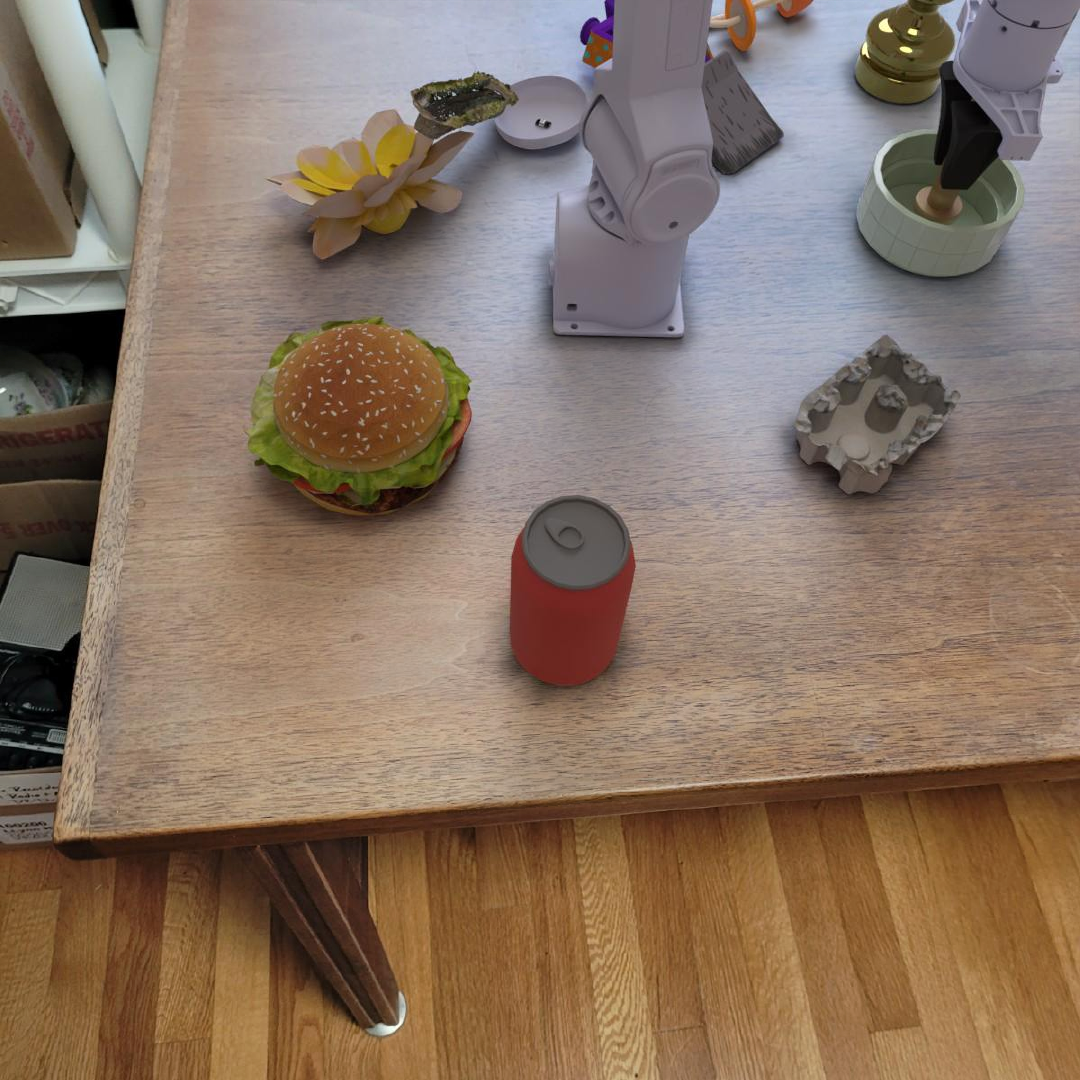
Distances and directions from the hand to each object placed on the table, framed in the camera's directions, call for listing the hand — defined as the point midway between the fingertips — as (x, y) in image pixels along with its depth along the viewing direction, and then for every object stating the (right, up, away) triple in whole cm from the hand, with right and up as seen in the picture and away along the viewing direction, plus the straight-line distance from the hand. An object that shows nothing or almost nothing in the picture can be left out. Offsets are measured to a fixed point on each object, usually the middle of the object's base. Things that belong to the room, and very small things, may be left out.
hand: (950, 174), depth 78 cm
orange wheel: (-20, +18, +14) cm, 30 cm away
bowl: (0, -3, +5) cm, 5 cm away
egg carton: (-8, -20, -5) cm, 22 cm away
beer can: (-29, -33, -14) cm, 47 cm away
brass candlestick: (+1, +13, +14) cm, 19 cm away
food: (-43, -21, -7) cm, 48 cm away
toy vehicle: (-20, +11, +12) cm, 26 cm away
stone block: (-34, +6, 0) cm, 34 cm away
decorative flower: (-43, -2, +3) cm, 43 cm away
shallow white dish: (-30, +7, +9) cm, 33 cm away
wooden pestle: (0, -2, +3) cm, 3 cm away
